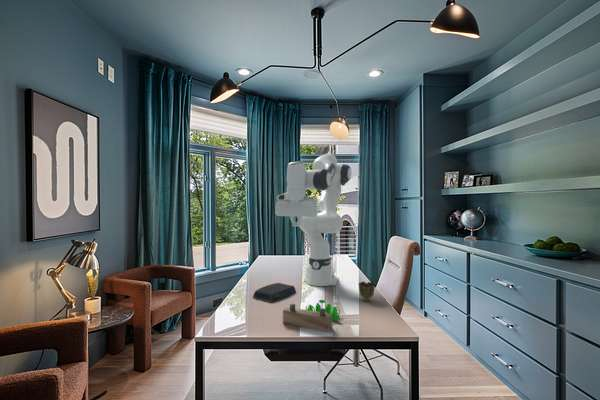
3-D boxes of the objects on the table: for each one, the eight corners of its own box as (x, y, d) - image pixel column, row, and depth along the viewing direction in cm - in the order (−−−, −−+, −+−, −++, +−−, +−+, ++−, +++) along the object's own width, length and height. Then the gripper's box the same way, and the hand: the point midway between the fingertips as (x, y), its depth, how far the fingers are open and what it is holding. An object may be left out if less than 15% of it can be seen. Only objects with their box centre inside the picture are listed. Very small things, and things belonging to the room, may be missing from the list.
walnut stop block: (287, 319, 121) (287, 301, 121) (331, 327, 114) (332, 308, 114) (282, 323, 117) (283, 304, 117) (328, 332, 110) (328, 312, 110)
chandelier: (333, 310, 132) (334, 293, 132) (346, 324, 118) (346, 306, 118) (299, 312, 129) (299, 295, 129) (307, 327, 115) (308, 308, 115)
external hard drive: (251, 298, 148) (251, 289, 147) (277, 288, 163) (277, 281, 163) (272, 304, 140) (272, 295, 140) (297, 293, 156) (297, 285, 156)
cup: (375, 298, 147) (375, 281, 147) (374, 303, 140) (374, 286, 140) (359, 297, 149) (359, 280, 149) (357, 302, 142) (357, 284, 142)
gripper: (319, 196, 142) (319, 226, 142) (279, 196, 151) (279, 224, 151) (314, 196, 136) (314, 228, 136) (273, 196, 145) (273, 226, 145)
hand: (295, 226), depth 144 cm, fingers closed
